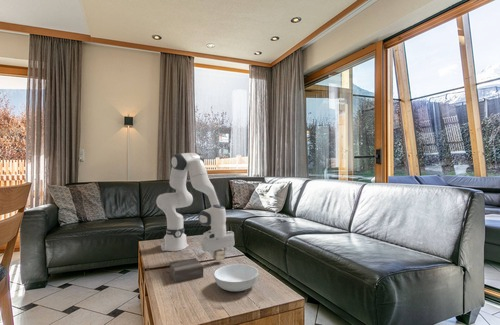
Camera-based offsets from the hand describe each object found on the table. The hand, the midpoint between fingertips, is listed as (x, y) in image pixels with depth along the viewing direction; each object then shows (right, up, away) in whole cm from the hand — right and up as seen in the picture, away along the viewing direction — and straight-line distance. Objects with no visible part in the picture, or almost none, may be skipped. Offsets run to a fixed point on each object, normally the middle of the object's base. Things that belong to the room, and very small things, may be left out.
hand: (218, 256), depth 157 cm
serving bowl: (+12, -3, -32) cm, 34 cm away
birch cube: (0, -2, 0) cm, 2 cm away
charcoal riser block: (-15, -4, -18) cm, 23 cm away
